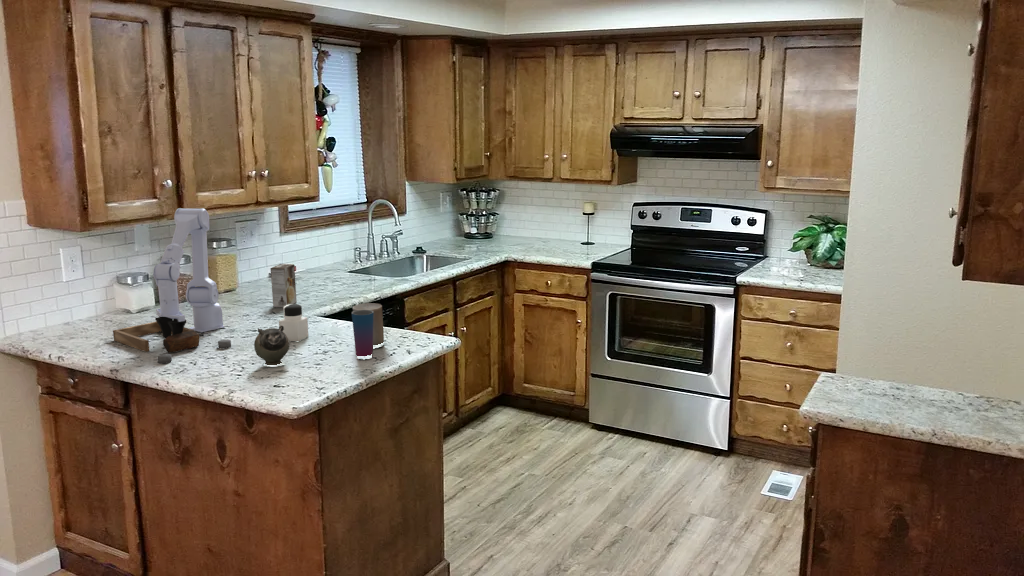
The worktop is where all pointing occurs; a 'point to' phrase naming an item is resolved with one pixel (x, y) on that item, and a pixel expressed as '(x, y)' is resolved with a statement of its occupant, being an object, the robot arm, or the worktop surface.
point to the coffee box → (283, 285)
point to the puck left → (164, 358)
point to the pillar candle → (374, 320)
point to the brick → (181, 341)
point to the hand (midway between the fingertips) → (172, 339)
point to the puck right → (224, 343)
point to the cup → (363, 331)
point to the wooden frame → (131, 333)
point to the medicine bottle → (294, 323)
